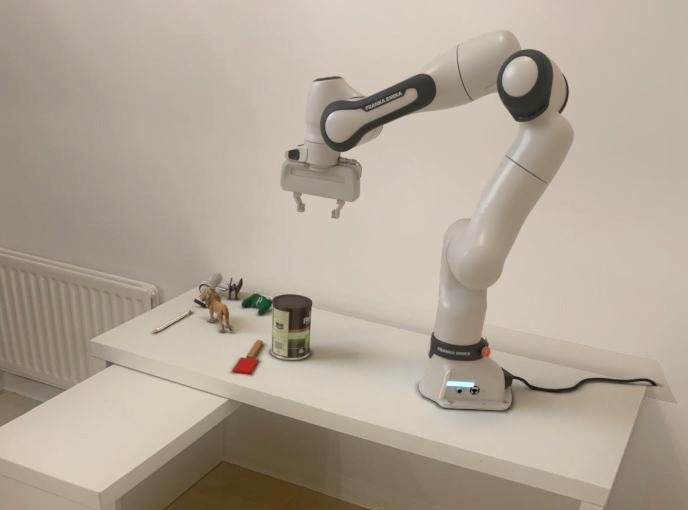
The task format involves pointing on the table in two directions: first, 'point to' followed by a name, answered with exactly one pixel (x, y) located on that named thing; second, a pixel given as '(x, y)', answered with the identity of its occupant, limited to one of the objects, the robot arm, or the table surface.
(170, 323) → the pencil
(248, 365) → the spatula
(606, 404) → the table surface
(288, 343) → the coffee can
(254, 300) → the gaming controller
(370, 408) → the table surface
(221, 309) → the lion figurine
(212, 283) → the clip-on lamp
